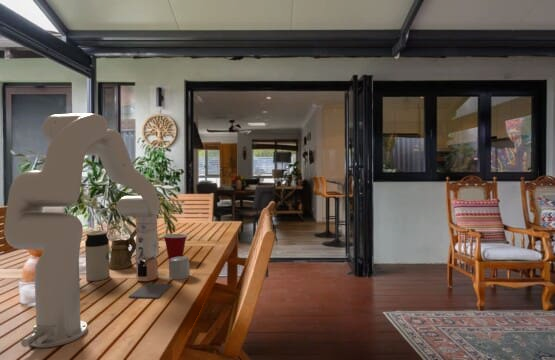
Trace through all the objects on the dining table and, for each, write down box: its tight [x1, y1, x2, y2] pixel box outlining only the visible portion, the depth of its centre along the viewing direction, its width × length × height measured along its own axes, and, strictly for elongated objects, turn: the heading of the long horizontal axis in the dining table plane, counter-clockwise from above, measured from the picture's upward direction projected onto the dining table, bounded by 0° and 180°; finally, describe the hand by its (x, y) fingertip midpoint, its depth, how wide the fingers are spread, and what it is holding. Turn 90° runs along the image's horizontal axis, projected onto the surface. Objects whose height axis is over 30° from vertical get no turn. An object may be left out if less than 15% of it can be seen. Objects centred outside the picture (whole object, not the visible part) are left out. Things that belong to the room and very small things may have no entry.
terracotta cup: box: [136, 257, 159, 282], centre depth 128 cm, size 7×7×7 cm
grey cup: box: [168, 255, 191, 280], centre depth 132 cm, size 7×7×7 cm
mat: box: [128, 283, 173, 299], centre depth 116 cm, size 12×10×1 cm
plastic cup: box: [162, 233, 188, 262], centre depth 154 cm, size 11×11×12 cm
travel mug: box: [84, 229, 110, 282], centre depth 130 cm, size 8×8×18 cm
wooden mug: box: [109, 228, 137, 271], centre depth 145 cm, size 9×14×18 cm, turn 92°
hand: (147, 272), depth 128 cm, fingers closed on terracotta cup, 7 cm apart
